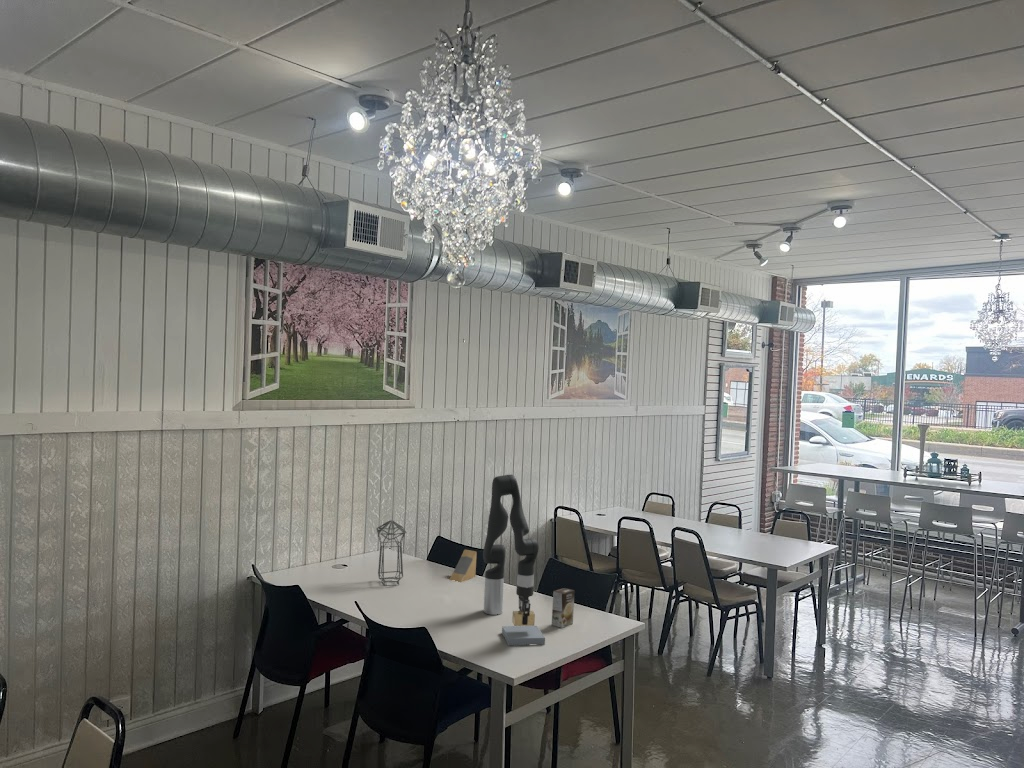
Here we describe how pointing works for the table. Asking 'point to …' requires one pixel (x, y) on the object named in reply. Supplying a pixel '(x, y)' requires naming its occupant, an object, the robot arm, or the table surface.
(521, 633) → the slate board
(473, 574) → the sandwich container
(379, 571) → the geometric lantern
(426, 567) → the table surface
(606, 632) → the table surface
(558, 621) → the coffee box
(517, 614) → the tan rectangular block
